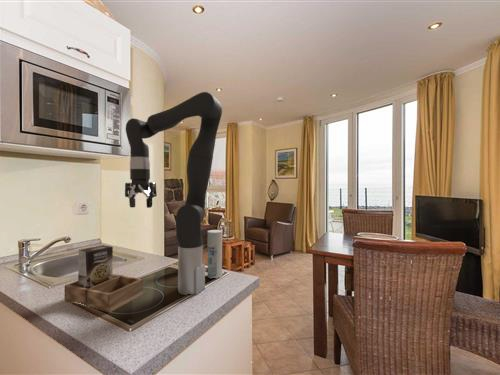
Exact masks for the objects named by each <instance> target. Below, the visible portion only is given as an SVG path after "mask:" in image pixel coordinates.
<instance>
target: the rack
mask: <svg viewBox="0 0 500 375" xmlns="http://www.w3.org/2000/svg"><path fill="white" fill-rule="evenodd" d="M143 294H144V278H138V277H135V276H126V275H121V274H116V273H113V276H112V279H110V280H108V281H105V282H103V283H101V284H98V285H96V286H93V287H91V288H89V289H87V288H82V287H78V280H76V281H73V282H70V283H68V284H67V283H66V284H65V285H64V302H66V303H69V304H73V302H77V303H81V304H84V305H86V306H89V307H88V308H90V307H93V308H92V309H94V308H96V309H95V310H98V309H99V311H103V312H106V313H112V312H113V311H115V310H117V309H118V308H120V307H122V306H124V305H126V304H128V303H129V302H132V301H133V300H134V299H137V298H139V297H140V296H142V295H143ZM86 306H85V307H86Z"/></svg>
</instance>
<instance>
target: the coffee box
mask: <svg viewBox="0 0 500 375" xmlns="http://www.w3.org/2000/svg"><path fill="white" fill-rule="evenodd" d="M113 248H114V247H113V246H112V245H105V244H102V245H98V246H91V247H88V248H82V249H78V269H77V270H78V271H77V272H78V276H77V277H78V278H77V281H78V287H82V288H87V289H89V288H91V287H93V286H96V285H98V284H101V283H103V282H105V281H108V280H110V279H112V276H113V274H114V273H113V269H114V268H113V266H114V265H113V263H114V262H113V259H114V258H113V256H114V255H113V254H114V253H113V252H114V250H113Z"/></svg>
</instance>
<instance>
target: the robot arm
mask: <svg viewBox="0 0 500 375" xmlns="http://www.w3.org/2000/svg"><path fill="white" fill-rule="evenodd" d="M222 106H223V105H222V104H221V102H220V100H219V99H217V98H216V97H215V96H214V94H211V93H210V92H208V91H202V92H199V93H196V94H195V95H193V96H192V97H190V98H188V99H186V100H184V101H183V102H181V103H179V104H176V105H174V106H173V107H171V108H169V109H166V110H162V111H159V112H156V113H153V114H151V115H150V116H148V117H147V119H146V121H143V120H142V119H138V118H130V119H128V121H127V122H126V124H125V133H126V138H127V140H128V144H129V148H130V152H129V153H130V159H129V160H130V161H129V176H130V177H129V179H130V181H131V182H125V183H124V196H125V198H128V200H129V201H128V202H129V204H128V205H129V208H136V196H137V195H138V194H143V195H144V196H145V198H146V200H145V201H146V208H149V209H150V208H152V206H153V198H155V197H157V195H158V194H157V183H156V182H155V181H151V182H150V180H151V170H150V169H151V168H150V167H151V164H150V163H151V162H150V150H149V149H150V148H149V145H148V144H147V143H145V141H144V140H143V139H150V138H152V137H154V136H155V135H157V134H158V133H161V132H164V131H166V130H170V129H172V128H174V127H176V126H177V125H178V124H180V123H181V122H183V121H184V120H185V119H188V118H193V117H199V118H200V119H201V120H200V127H199V132H198V135H197V136H196V139H195V140H194V142H193V144H192V145H191V147H190V149H189V152H188V157H187V163H186V177H187V187H188V188H187V194H186V200H185V203H184V204H183V205H182V206H180V207H179V208H178V209H177V212H176V217H175V234H176V235H175V236H176V240H177V246H178V247H177V251H178V252H177V292H178V293H179V294H181V295H184V296H186V295H187V294H191V295H198V294H199V293H201V292H202V291H203V290H204V289H206V288H205V287H206V273H205V272H206V264H205V263H204V262H203V260H204V257H203V256H204V255H203V254H204V253H203V252H204V250H203V249H204V247H203V246H204V239H203V237H202V231H201V230H202V229H201V228H202V227H201V223H203V221H204V218H205V214H206V213H205V212H206V196H207V190H208V186H209V181H210V177H211V171H212V166H213V159H214V153H215V145H216V140H217V133H218V129H219V125H220V123H221V122H220V121H221V118H222V114H223V107H222Z"/></svg>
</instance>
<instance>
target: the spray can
mask: <svg viewBox="0 0 500 375" xmlns="http://www.w3.org/2000/svg"><path fill="white" fill-rule="evenodd" d="M222 266H223V230H222V229H211V230H207V277H208V278H209V279H212V278H216V279H219V278H218V277H220V278H222V276H223V267H222Z"/></svg>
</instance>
